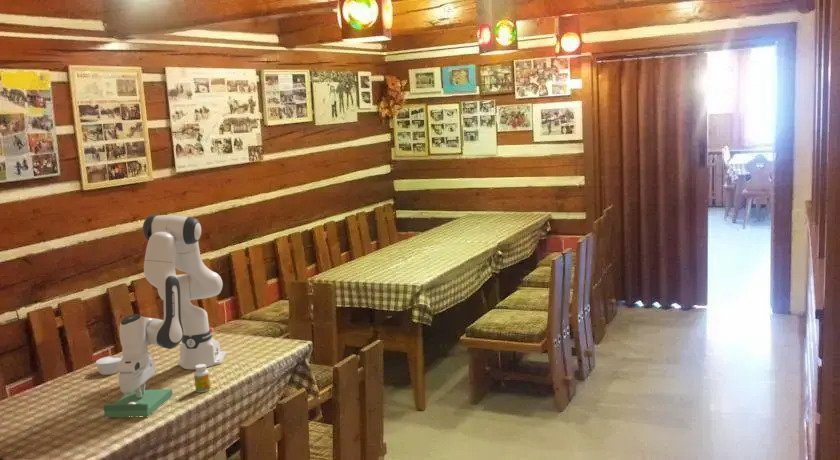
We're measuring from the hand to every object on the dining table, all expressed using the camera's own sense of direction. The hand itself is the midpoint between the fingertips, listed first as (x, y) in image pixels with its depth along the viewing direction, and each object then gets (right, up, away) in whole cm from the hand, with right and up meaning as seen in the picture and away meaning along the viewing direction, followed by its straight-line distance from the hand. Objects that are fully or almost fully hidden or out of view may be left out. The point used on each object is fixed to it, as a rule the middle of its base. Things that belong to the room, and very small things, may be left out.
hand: (140, 395), depth 279 cm
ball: (-1, -2, -7) cm, 7 cm away
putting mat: (0, -4, -1) cm, 4 cm away
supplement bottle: (+20, 0, +11) cm, 23 cm away
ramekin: (-27, +1, +41) cm, 49 cm away
